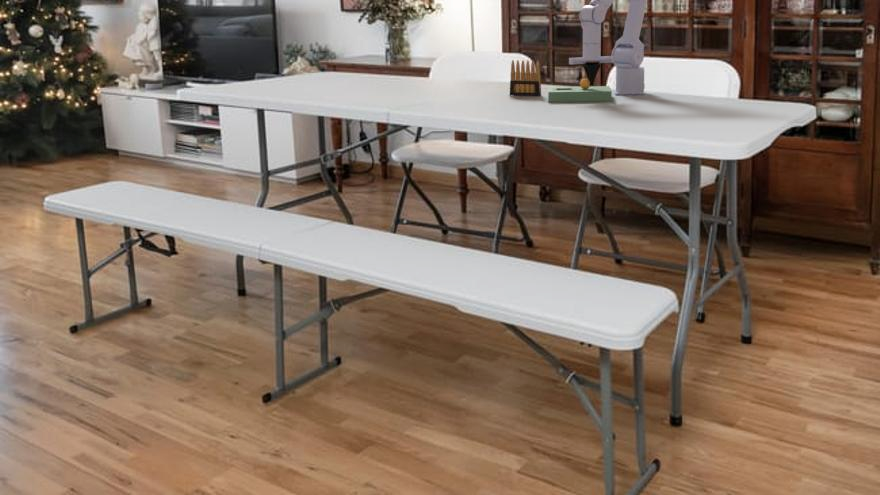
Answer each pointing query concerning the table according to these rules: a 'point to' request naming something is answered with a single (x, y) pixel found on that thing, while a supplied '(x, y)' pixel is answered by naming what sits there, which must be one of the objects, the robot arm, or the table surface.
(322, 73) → the table surface
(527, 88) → the ammunition clip
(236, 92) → the table surface
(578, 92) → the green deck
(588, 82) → the ball
